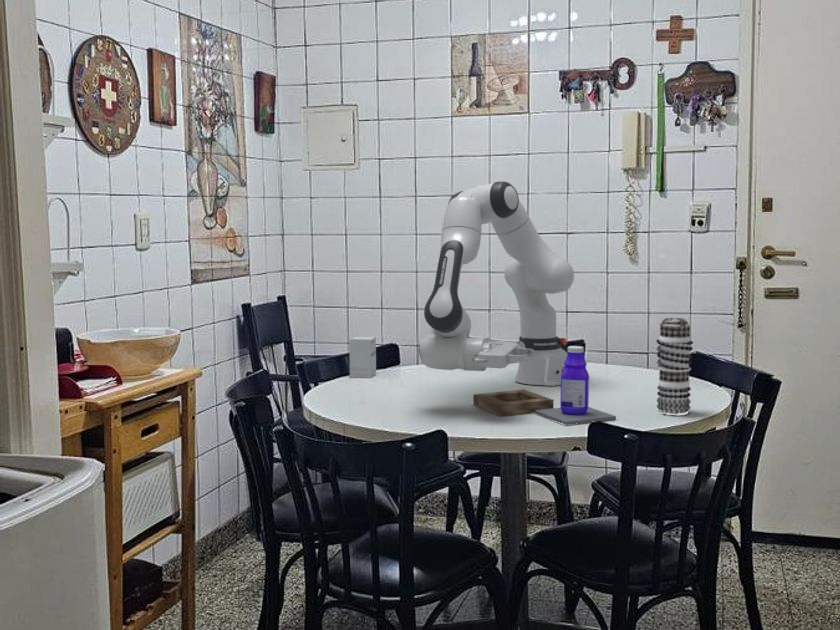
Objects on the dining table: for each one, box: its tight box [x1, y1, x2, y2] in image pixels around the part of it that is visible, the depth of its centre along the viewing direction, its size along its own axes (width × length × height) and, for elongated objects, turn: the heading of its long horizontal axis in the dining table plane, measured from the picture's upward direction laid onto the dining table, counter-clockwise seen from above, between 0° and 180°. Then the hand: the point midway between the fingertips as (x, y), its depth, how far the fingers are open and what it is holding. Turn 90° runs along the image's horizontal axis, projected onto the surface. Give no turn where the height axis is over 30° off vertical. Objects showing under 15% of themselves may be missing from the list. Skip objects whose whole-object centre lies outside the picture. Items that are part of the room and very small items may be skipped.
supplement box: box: [348, 336, 377, 379], centre depth 308 cm, size 7×7×13 cm
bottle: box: [559, 345, 590, 415], centre depth 244 cm, size 7×6×17 cm
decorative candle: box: [656, 317, 694, 414], centre depth 248 cm, size 9×9×25 cm
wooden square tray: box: [472, 389, 555, 417], centre depth 257 cm, size 16×16×3 cm
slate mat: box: [534, 406, 617, 426], centre depth 245 cm, size 15×15×1 cm
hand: (529, 355), depth 247 cm, fingers open, 8 cm apart
